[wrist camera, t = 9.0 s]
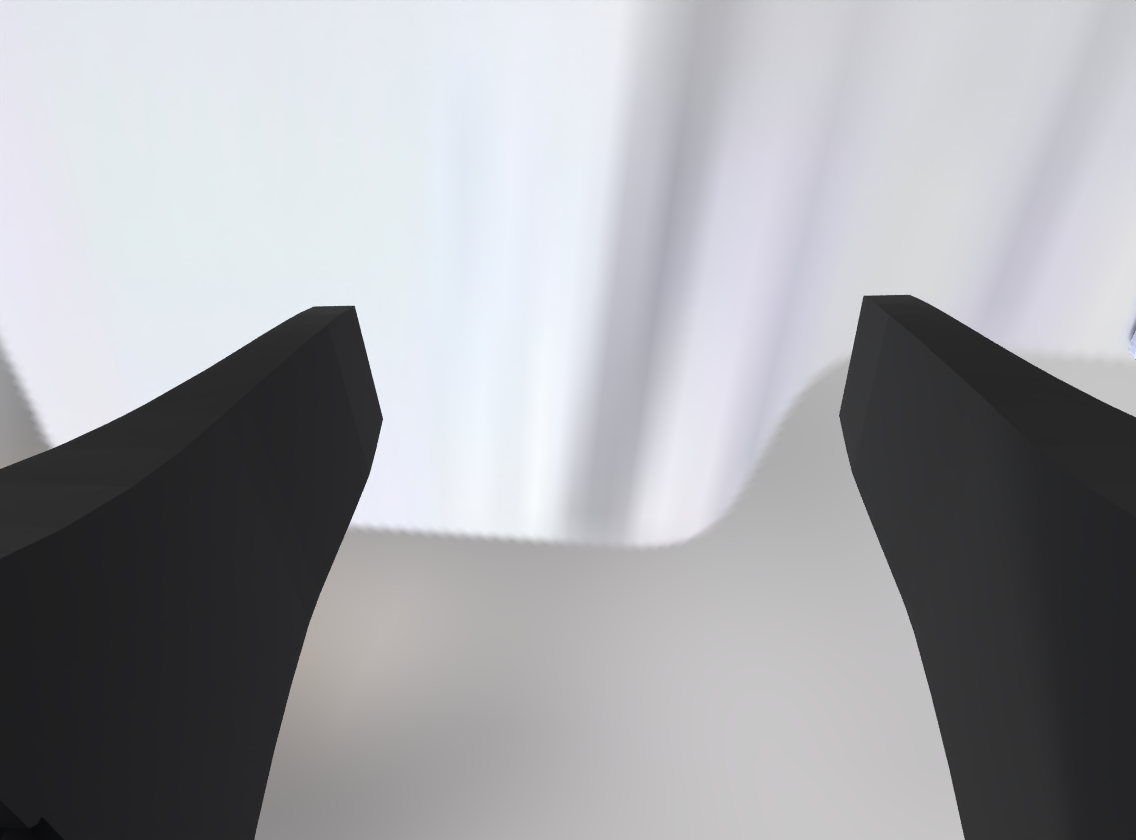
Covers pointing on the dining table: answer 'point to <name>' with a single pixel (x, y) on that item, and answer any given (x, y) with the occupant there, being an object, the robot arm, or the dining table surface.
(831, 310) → the dining table surface
